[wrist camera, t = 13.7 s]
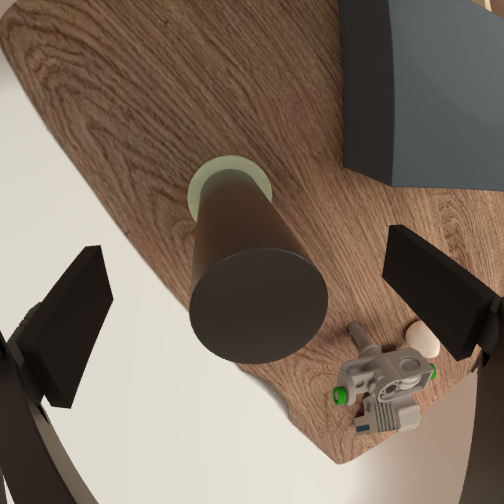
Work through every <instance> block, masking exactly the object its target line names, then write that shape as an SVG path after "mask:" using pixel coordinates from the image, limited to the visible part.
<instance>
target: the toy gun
mask: <svg viewBox="0 0 504 504" xmlns="http://www.w3.org/2000/svg"><path fill="white" fill-rule="evenodd" d="M400 389H402V388H400ZM403 390H406V389H403ZM363 405H364V409H365V412H364V416H361V417H356V418H354V424H355V432H356V436H357V435H364V434H370V433H377V432H385V431H390V430H395V429H397V434H399V433H402V432H405V431H408V430H411V429H414V428H417V427H419V422H421V415H420V410H419V406H420V405H419V403H415V402H414V401H413V399H412V394H409V395H406V396H403V397H400V398H396V399H394V400H392V401H389V402H385V403H382V402H379V401H378V400H377V398H376V396H375V397H371V396H368V397H366V398H364V399H363Z"/></svg>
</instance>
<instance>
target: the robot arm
mask: <svg viewBox="0 0 504 504" xmlns="http://www.w3.org/2000/svg"><path fill="white" fill-rule="evenodd" d="M382 277H383V279H384V280H385V281H386V282H387V283H388V284H389V285H390V286H391V287H392V288H393V289H394V290H395V291H396V292H397V294H398V295H399V296H400V297H401V298H402V299H403V300H404V301H405V302H406V303H407V304H408V306H409V307H410V308H411V309H412V310H413V311H414V312H415V313H416V314H417V316H418V317H419V318H420V319H421V320H422V321H423V322H424V323H425V325H426V326H427V327H428V328H429V329H430V330H431V331H432V333H433V334H434V335H435V336H436V337H437V338H438V340H439V341H440V342H441V343H442V344H443V345H444V347H445V348H446V349H447V350H448V351H449V353H450V354H451V355H452V356H453V357H454V359H455V360H456V361H460V360H463V359H465V358H468V357H471V355H472V353H473V350H474V348H475V346H476V344H478V345H479V346H480V347H481V351H480V353H479V355H478V357H477V359H476V361H475V363H474V365H473V367H472V370H471V372H474V370H475V369H476V368H477V367H478V372H477V374H478V378H477V380H478V381H477V396H476V409H475V419H474V428H473V436H472V442H471V449H470V455H469V461H468V466H467V471H466V476H465V481H464V485H463V490H462V493H461V498H460V502H459V504H504V296H503V297H502V298H501V297H500V296H499V295H497V294H496V293H495V292H494V291H493V290H491V289H490V288H489V287H488V286H486V285H485V284H484V283H482V282H481V281H480V280H479V279H478V278H476V277H475V276H474V275H472V274H471V273H470V272H469V271H467V270H466V269H464V268H463V267H462V266H460V265H459V264H458V263H456V262H455V261H454V260H452V259H451V258H450V257H448V256H447V255H446V254H444V253H443V252H441V251H440V250H439V249H437V248H436V247H434V246H433V245H432V244H430V243H429V242H427V241H426V240H425V239H423V238H422V237H420V236H419V235H417V234H416V233H414V232H413V231H411V230H410V229H408V228H407V227H405V226H404V225H390V226H389V234H388V241H387V248H386V255H385V261H384V267H383V273H382ZM112 302H113V295H112V292H111V288H110V284H109V280H108V276H107V272H106V267H105V263H104V259H103V254H102V250H101V246H100V245H97V246H88V247H87V246H86V247H85V248H84V249H83V250H82V251H81V253H80V254H79V255H78V256H77V257H76V258H75V260H74V261H73V262H72V263H71V265H70V266H69V267H68V268H67V270H66V271H65V272H64V273H63V275H62V276H61V277H60V279H59V280H58V281H57V282H56V284H55V285H54V286H53V288H52V289H51V290H50V292H49V293H48V294H47V296H46V297H45V299H44V300H43V301H42V302H39V303H38V304H37V305H35V306H34V307H33V308H31V309H30V310H29V311H28V313H27V314H26V316H25V317H24V320H22V321H21V323H20V324H19V327H17V328H16V330H15V331H14V333H13V334H12V336H11V337H10V339H9V340H8V342H7V343H6V342H5V340H4V338H3V336H2V333H1V331H0V504H7V499H6V493H5V486H4V478H5V481H6V483H7V486H8V489H9V491H10V494H11V496H12V499H13V501H14V503H15V504H98V502H97V501H96V499H95V498H94V496H93V495H92V493H91V492H90V491H89V489H88V487H87V486H86V484H85V483H84V481H83V480H82V478H81V476H80V475H79V473H78V472H77V470H76V468H75V467H74V465H73V463H72V462H71V460H70V458H69V456H68V454H67V453H66V451H65V449H64V447H63V445H62V443H61V442H60V440H59V438H58V436H57V434H56V432H55V430H54V428H53V426H52V424H51V422H50V420H49V418H48V415H47V413H46V411H45V410H44V408H43V406H42V405H41V401H42V398H43V396H44V395H45V396H46V398H47V400H48V401H49V403H50V405H51V406H53V407H60V408H70V409H71V406H72V403H73V400H74V397H75V395H76V392H77V389H78V386H79V383H80V381H81V378H82V375H83V372H84V370H85V367H86V364H87V362H88V359H89V357H90V354H91V352H92V349H93V347H94V344H95V342H96V339H97V337H98V334H99V332H100V329H101V327H102V325H103V322H104V320H105V318H106V315H107V313H108V311H109V308H110V306H111V304H112ZM3 475H4V478H3Z"/></svg>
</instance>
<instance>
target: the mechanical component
mask: <svg viewBox="0 0 504 504" xmlns="http://www.w3.org/2000/svg"><path fill="white" fill-rule="evenodd" d="M348 329H349V330H350V331H349V332H347V333H348V335H349V336H350V338H351V340H352V341H353V343H354V345H355V346H356V348H357V350H358V351H359V355H358V359H355V360H349V361H346V362H344V363H343V364H342V365H341V368H340V373H339V377H338V382H337V386H336V387H335V388H334V389H333V398H334V402H335V404H336V405H338V404H343V406H350V405H353V404H354V402H355V399H356V394H361V393H365V392H369V394H370V396H371V397H375V396H376V398H377V400H378V401H379V402H382V403H385V402H389V401H392V400H394V399H396V398H400V397H403V396H406V395H409V394H413V393H416V392H419V391H422V390H425V389H426V387H427V385H428V383H429V381H430V379H433V378H434V377H435V376H436V369H435V366H434V365H433V364H430V363H429V362H428V361H427V359H425V358H424V357H423V356H422V355H421V354H420V352H418V351H417V350H415V349H412V348H405V349H401V350H396V351H392V352H388V353H382V350H381V347H380V346H379V345H377V344H372V343H371V342H370V340H369V339H368V337H367V336H366V334H365V333H364V331H363V330H362V328H361V327H360V325H359V324H358V323H357V322H352V323H350V324H349V325H348ZM361 381H363V383H362V384H361V385H358V386H356V384H357V383H359V382H361ZM400 388H402V389H400ZM403 389H406V390H403Z"/></svg>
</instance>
